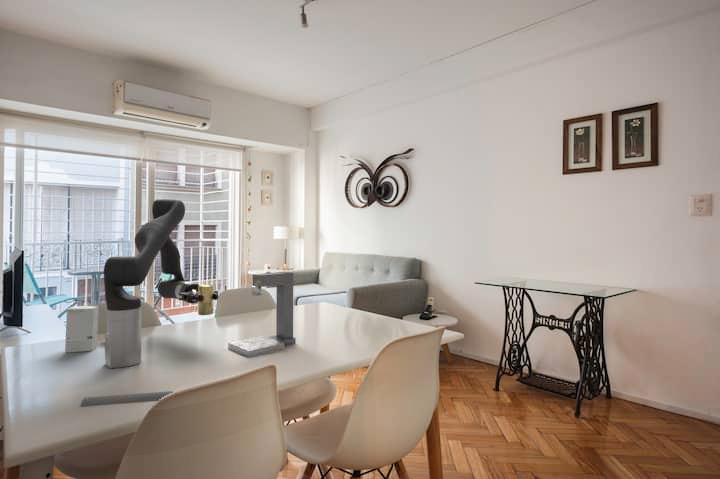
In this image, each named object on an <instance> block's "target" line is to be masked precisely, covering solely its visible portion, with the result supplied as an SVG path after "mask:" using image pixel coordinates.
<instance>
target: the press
mask: <svg viewBox="0 0 720 479" xmlns="http://www.w3.org/2000/svg"><path fill="white" fill-rule="evenodd" d="M273 286H276V315H275V316H276V322H275V323H276V325H275V326H276V330H275V331H276V335H272V336H268V337H267V336H265V335H260V336H259V335H258V336H256V337H250V338H244V339H239V340H235V341H229V342H228V343H227V348H228V350H231V351H233V352H236V353H238V354H240V355H243V356H245V357H247V358H251V357H255V356H256V357H257V356H259V355H264V354H268V353H272V352H276V351H281V350H284V349H285V347H286V346H290V345H293V344H296V342H297V341H296V337H294V272H289V271H278V272H270V271H266V272H264V273H254V274H252V286H251V296H261V295H262V287H273Z"/></svg>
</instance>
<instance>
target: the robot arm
mask: <svg viewBox="0 0 720 479" xmlns="http://www.w3.org/2000/svg"><path fill="white" fill-rule="evenodd" d="M151 209H152V210H151V211H152V218H153V219H151V220H150V221H149V220H148V222H146V223H145V224H143V225H142V226H141V228H140V229H139V230H138V231H137V233H136V234H135V237H134V244H135V248H136V249H137V251H138V254H137V255H134V256H125V255H123V256H111V257H109V258H107V259H106V260H105V263H104V267H103V283H104V284H103V285H104V296H105V297H104V299H105V303H106V333H105V334H104V362H105V365H106V366H107V367H108V368H109V369H114V368H125V367H131V366H135V365H138V364H140V363H141V362H142V300H141V298H140V297H138V296H136V295H133V294H131V293H129V292H128V291H126V290H125V289H124V287H137V286H140V285H142V283H143V282H144V281H145V280H146V278H147V276H148V274H149V271H150V270H151V267H152V265H153V263H154V261H155V259H156V257H157V255H158V254H159V253H160V263H161V272H162V273H163V275H173V276H174V278H169V279H164V280H162V281H160V282H159V284H157V292H158V294H159V296H160V297H162V298H164V299H178V301H181V302H185V303H188V304H194V305H195V304H198V301H199V302H202V295H199V294H198V286H200V285H201V284H199V283H196V282H190V281H186V280H185V278H184V275H183V272H182V267H181V256H180V250H179V249H178V247H177V245H176V243H175V242H174V241H173V239H172V238H171V236H170V235H171V234H172V232H173V231H174V230H175V228H177V226H178V225H179V224H180V223H181V222H182V221H183V219H184V217H185V213H186V206H185V204H184V202H183V201H182V200H181V199H178V198H177V199H175V198H159V199H155V200H154V201H153V203H152V207H151ZM218 299H219V291H218V290H217V289H214V288H213V301H218Z"/></svg>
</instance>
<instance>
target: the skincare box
mask: <svg viewBox="0 0 720 479" xmlns="http://www.w3.org/2000/svg"><path fill="white" fill-rule="evenodd" d="M65 324H66V325H65V327H66V328H65V345H64V346H65V348H64V349H65V350H64V353H79V352H80V353H81V352H92V351H93V350H95V349H96V348H97V347H98V329H99V328H98V326H99V306H98V305H87V306H86V305H85V306H84V305H79V306H78V305H76V306H71V307H68V308H66V323H65Z"/></svg>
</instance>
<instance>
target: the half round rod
mask: <svg viewBox="0 0 720 479" xmlns="http://www.w3.org/2000/svg"><path fill="white" fill-rule="evenodd" d="M170 393H172V394H173V391H172V390H170V391H167V390H166V391H156V392H155V391H154V392H145V393H144V392H141V393H128V394H116V395H104V396H103V395H102V396H101V395H100V396H88V397H84V398H83V399H82V401H81V404H80V405H81V407H92V406H93V407H95V406H105V405H106V406H107V405H118V404H119V405H120V404H121V405H122V404H133V403H145V402H147V403H148V402H156V401H158V400H159V399H161V398H162V397H164V396H166V395H168V394H170ZM159 401H160V400H159Z"/></svg>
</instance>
